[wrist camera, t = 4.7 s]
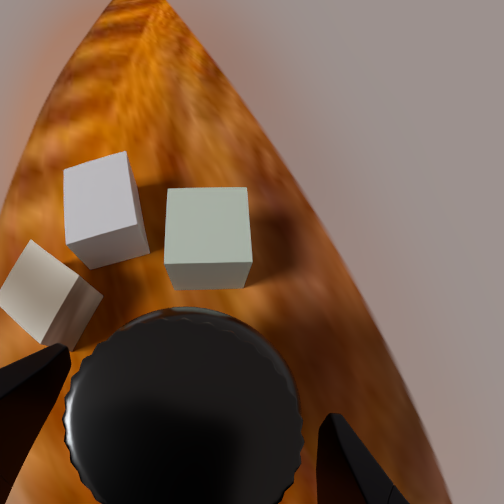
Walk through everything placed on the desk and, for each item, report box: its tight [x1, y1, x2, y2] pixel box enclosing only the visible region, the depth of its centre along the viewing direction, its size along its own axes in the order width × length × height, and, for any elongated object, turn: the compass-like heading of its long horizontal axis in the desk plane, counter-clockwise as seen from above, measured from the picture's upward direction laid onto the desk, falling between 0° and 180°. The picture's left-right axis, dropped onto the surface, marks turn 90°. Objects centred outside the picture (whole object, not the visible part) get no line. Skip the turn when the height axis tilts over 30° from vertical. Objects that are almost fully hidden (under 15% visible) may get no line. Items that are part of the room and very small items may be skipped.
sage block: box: [164, 187, 253, 290], centre depth 17 cm, size 4×4×4 cm
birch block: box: [0, 240, 104, 352], centre depth 15 cm, size 4×4×4 cm
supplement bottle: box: [62, 307, 304, 504], centre depth 10 cm, size 7×7×12 cm
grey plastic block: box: [64, 151, 150, 270], centre depth 17 cm, size 5×4×4 cm
